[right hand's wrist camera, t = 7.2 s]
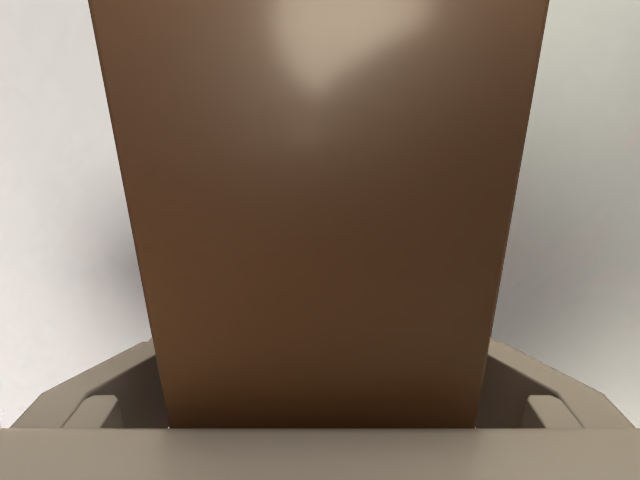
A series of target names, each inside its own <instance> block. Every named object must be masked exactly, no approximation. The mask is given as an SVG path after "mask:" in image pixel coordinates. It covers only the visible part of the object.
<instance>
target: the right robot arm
mask: <svg viewBox="0 0 640 480" xmlns="http://www.w3.org/2000/svg"><path fill="white" fill-rule="evenodd" d="M168 427H169V422H168V417H167V412H166V407H165V401H164V396H163V391H162V386H161V381H160V375H159V370H158V365H157V360H156V354H155V349H154V344H153V339H152V337H151V339H150V340H149V342H141V343H139V344H137V345H135V346H133V347H132V348H130V349H128V350H126V351H124V352H122V353H120V354H118V355H116V356H114V357H112V358H110V359H108V360H106V361H104V362H102V363H100V364H98V365H96V366H94V367H92V368H91V369H89V370H87V371H85V372H83V373H81V374H79V375H77V376H75V377H73V378H71V379H69V380H67V381H65V382H63V383H61V384H59V385H57V386H55V387H53V388H52V389H50V390H48V391H46V392H44V393H42V394H41V395H40V396H39V397H38V398H37V399H36V400H35V401H34V402H33V403H32V404H31V406H30V407H29V408H28V409H27V410H26V411H25V412H24V413H23V414H22V415H21V416H20V417H19V418H18V419H17V420H16V422H15V423H14V424H13V425H12V426H11V427H10V428H0V480H640V428H635V427H634V426H633V424H632V423H631V422H630V421H629V420H628V419H627V418H626V417H625V416H624V415H623V414H622V413H621V412H620V411H619V410H618V409H617V408H616V407H615V405H614V404H613V403H612V402H611V401H610V400H609V399H608V398H607V397H606V396H605V395H604V394H603V393H601V392H599V391H597V390H595V389H593V388H591V387H589V386H587V385H585V384H583V383H581V382H579V381H577V380H575V379H573V378H571V377H569V376H567V375H565V374H563V373H561V372H559V371H557V370H555V369H554V368H552V367H550V366H548V365H546V364H544V363H542V362H540V361H538V360H536V359H534V358H532V357H530V356H528V355H526V354H524V353H522V352H520V351H518V350H516V349H514V348H512V347H510V346H508V345H506V344H504V343H502V342H495V341H494V339H493V338H492V337H491V338H490V343H489V349H488V355H487V361H486V366H485V372H484V378H483V383H482V389H481V395H480V401H479V406H478V412H477V418H476V424H475V427H476V428H168Z"/></svg>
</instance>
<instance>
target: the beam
mask: <svg viewBox="0 0 640 480" xmlns="http://www.w3.org/2000/svg"><path fill="white" fill-rule="evenodd" d="M88 3H89V8H90V13H91V18H92V24H93V29H94V34H95V39H96V45H97V50H98V55H99V60H100V66H101V71H102V76H103V81H104V87H105V92H106V97H107V102H108V108H109V113H110V118H111V123H112V129H113V134H114V139H115V144H116V150H117V155H118V160H119V165H120V171H121V176H122V181H123V186H124V192H125V197H126V202H127V207H128V213H129V218H130V223H131V228H132V234H133V239H134V244H135V249H136V255H137V260H138V265H139V270H140V276H141V281H142V286H143V291H144V297H145V302H146V307H147V312H148V318H149V323H150V328H151V333H152V339H153V344H154V349H155V354H156V360H157V365H158V370H159V375H160V381H161V386H162V391H163V396H164V401H165V407H166V412H167V417H168V422H169V428H475V424H476V418H477V412H478V406H479V401H480V395H481V389H482V383H483V378H484V372H485V366H486V361H487V355H488V349H489V343H490V338H491V332H492V326H493V320H494V315H495V309H496V303H497V298H498V292H499V286H500V280H501V275H502V269H503V263H504V257H505V252H506V246H507V240H508V234H509V229H510V223H511V217H512V212H513V206H514V200H515V194H516V189H517V183H518V177H519V171H520V166H521V160H522V154H523V149H524V143H525V137H526V131H527V126H528V120H529V114H530V108H531V103H532V97H533V91H534V86H535V80H536V74H537V68H538V63H539V57H540V51H541V45H542V40H543V34H544V28H545V23H546V17H547V11H548V5H549V0H88Z"/></svg>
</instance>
